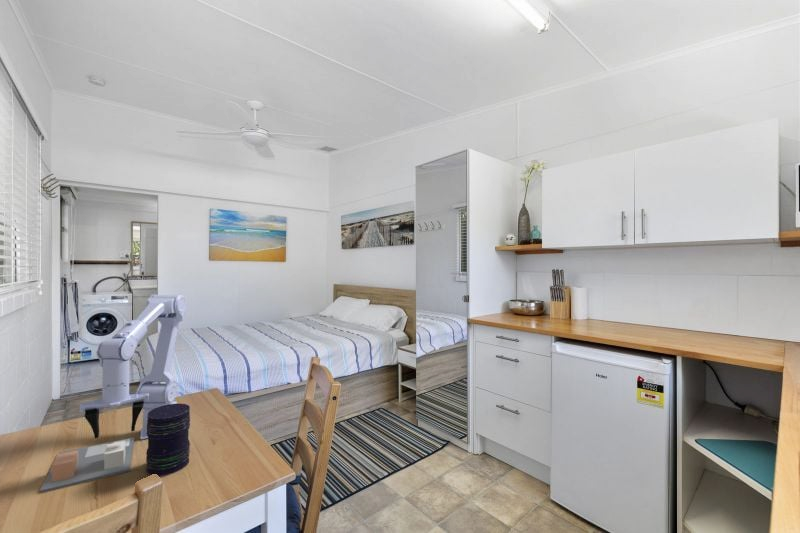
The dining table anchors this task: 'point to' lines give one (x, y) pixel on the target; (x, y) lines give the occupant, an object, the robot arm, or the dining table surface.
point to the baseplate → (91, 466)
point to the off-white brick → (114, 455)
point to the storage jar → (168, 439)
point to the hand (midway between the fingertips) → (115, 433)
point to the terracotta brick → (64, 466)
